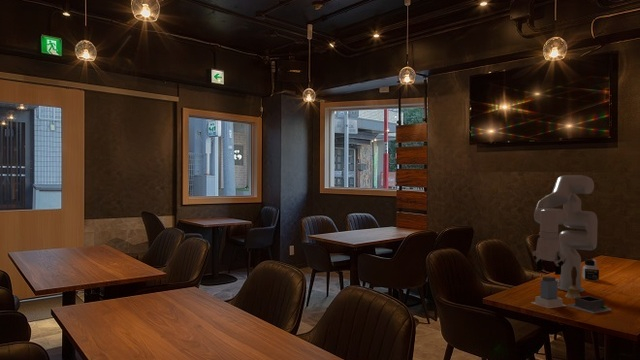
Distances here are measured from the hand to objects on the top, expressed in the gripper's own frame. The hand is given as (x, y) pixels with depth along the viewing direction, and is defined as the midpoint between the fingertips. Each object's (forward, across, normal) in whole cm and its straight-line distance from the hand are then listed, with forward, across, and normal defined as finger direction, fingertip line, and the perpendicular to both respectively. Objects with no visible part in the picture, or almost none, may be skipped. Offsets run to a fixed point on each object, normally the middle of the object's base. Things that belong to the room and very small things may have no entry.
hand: (548, 272), depth 199 cm
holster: (+16, 0, +1) cm, 16 cm away
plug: (+15, 0, +1) cm, 15 cm away
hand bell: (+15, -4, +23) cm, 28 cm away
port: (+15, +11, +12) cm, 23 cm away
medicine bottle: (+14, -29, +71) cm, 78 cm away
